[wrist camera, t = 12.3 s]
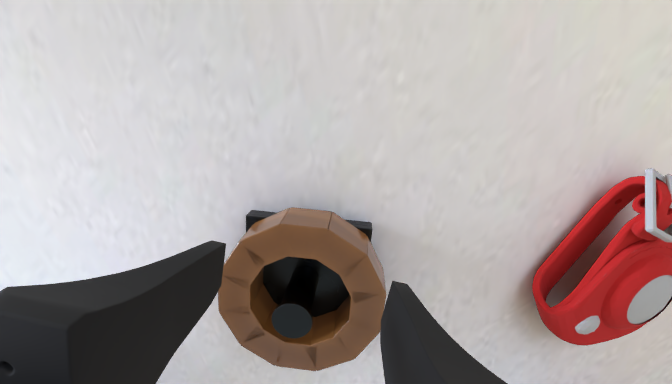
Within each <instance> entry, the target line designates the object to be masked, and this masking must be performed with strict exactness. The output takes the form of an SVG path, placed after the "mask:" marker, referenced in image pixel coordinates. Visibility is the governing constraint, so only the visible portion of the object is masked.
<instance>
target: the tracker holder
mask: <svg viewBox="0 0 672 384" xmlns="http://www.w3.org/2000/svg"><path fill="white" fill-rule="evenodd" d="M635 197H636V198H635ZM634 198H635V199H634ZM633 199H634V201H633V204H632V207H633V209H634V210H635V211H636V212H638V213H640V214H639V215H637V216H636V217H634V218H633V219H631V220H630V221H628V222H627V223H626V224H625V225H624V226H623V227H622V228H621V230H620V231H619V232H618V233H617V234H616V236H615V237H614V238H613V239H612V240H611V241H610V243H609V244H608V245H607V247H606V248H605V249H604V251H603V252H602V253H601V255H600V256H599V257H598V259H597V260H596V261H595V263H594V264H593V265H592V267H591V268H590V269H589V271H588V272H587V273H586V275H585V276H584V277H583V279H582V280H581V281H580V283H579V284H578V285H577V287H576V288H575V289H574V290H573V291H572V292H571V293H570V294H569V295H568V296H567V297H566V298H565V299H564V300H563V301H562V302H560V303H559V304H557V305H555V306H553V307H549V306H548V305H547V303H546V297H547V295H548V293H549V292H550V290H551V289H552V288H553V287H554V285H555V284H556V283H557V282H558V281H559V280H560V279H561V277H562V276H563V275H564V274H565V273H566V272H567V270H568V269H569V268H570V267H571V266H572V265H573V264H574V262H575V261H576V260H577V259H578V258H579V257H580V256H581V254H582V253H583V252H584V251H585V250H586V249H587V248H588V246H589V245H590V244H591V243H592V242H593V241H594V240H595V238H596V237H597V236H598V235H599V234H600V233H601V232H602V231H603V230H604V228H605V227H606V226H607V225H608V224H609V223H610V222H611V220H612V219H613V218H614V217H615V216H616V214H617V213H618V212H619V211H620V210H622V209H623V208H624V207H625V206H626V205H627V204H628V203H630V202H631V201H632V200H633ZM532 289H533V295H534V298H535V302H536V305H537V309H538V312H539V314H540V317H541V319H542V321H543V323H544V324H545V325H546V326H547V328H548V329H549V330H550V331H551V332H552V333H554V334H555V335H556V336H557V337H559V338H560V339H562V340H564V341H566V342H569V343H572V344H576V345H591V344H596V343H600V342H605V341H609V340H612V339H615V338H619V337H622V336H624V335H627V334H629V333H631V332H633V331H635V330H637V329H639V328H641V327H642V326H643V325H645V324H646V323H647V322H649V321H651V320H652V319H654V318H655V317H657V316H658V315H659V314H660V313H661V312H662V311H663V310H664V309H665V308H666V307H667V306H668V305H669V303H670V302H671V301H672V175H670V174H667V175H665V177H664V176H662V175H661V174H660V173H658V172H657V171H656V170H654V169H652V168H649V169H646V170H645V176H637V177H631V178H628V179H625V180H623V181H622V182H620V183H618V184H617V185H615V186H614V187H613V188H611V189H610V190H609V191H608V192H607V193H606V194H605V195H604V196H603V197H602V198H601V199H600V200H599V201H598V202H597V203H596V204H595V205H594V206H593V207H592V208H591V209H590V210H589V211H588V213H587V214H586V215H585V216H584V217H583V218H582V219H581V220H580V221H579V223H578V224H577V225H576V226H575V227H574V228H573V230H572V231H571V232H570V233H569V234H568V235H567V236H566V238H565V239H564V240H563V241H562V242H561V243H560V244H559V246H558V247H557V248H556V249H555V250H554V251H553V252H552V254H551V255H550V256H549V257H548V258H547V259H546V260H545V262H544V263H543V264H542V265H541V266H540V268H539V269H538V270H537V272H536V274H535V276H534V280H533V285H532Z"/></svg>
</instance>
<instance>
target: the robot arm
mask: <svg viewBox="0 0 672 384" xmlns="http://www.w3.org/2000/svg"><path fill="white" fill-rule="evenodd" d="M225 247H226V244H225V243H220V242H216V241H209V242H206V243H204V244H201V245H199V246H196V247H194V248H191V249H189V250H187V251H184V252H182V253H179V254H177V255H174V256H172V257H169V258H166V259H163V260H160V261H158V262H155V263H152V264H149V265H146V266H143V267H140V268H136V269H132V270H129V271H125V272H121V273H117V274H112V275H107V276H102V277H97V278H92V279H86V280H80V281H73V282H65V283H57V284H46V285H32V286H17V287H7V288H5V289H3V290H1V291H0V384H156V382H157V380H158V379H159V377H160V375H161V374H162V372H163V370H164V369H165V367H166V365H167V364H168V362H169V361H170V359H171V357H172V356H173V355H174V353H175V352H176V350H177V349H178V347H179V346H180V345H181V343H182V342H183V341H184V339H185V338H186V337H187V335H188V334H189V333H190V331H191V330H192V329H193V327H194V326H195V325H196V323H197V322H198V321H199V319H200V318H201V317H202V315H203V314H204V313H205V311H206V310H207V309H208V307H209V306H210V304H211V303H212V301H213V299H214V298H215V296H216V294H217V292H218V290H219V288H220V287H221V284H222V275H223V266H224V256H225ZM380 340H381V352H382V361H383V369H384V377H385V384H507V383H506V382H504V381H503V380H502V379H500V378H499V377H497V376H496V375H495V374H493V373H492V372H491V371H489V370H488V369H487V368H485V367H484V366H483V365H482V364H480V363H479V362H478V361H477V360H475V359H474V358H473V357H472V356H471V355H469V354H468V353H467V352H466V351H465V350H464V349H463V348H462V347H461V346H460V345H459V344H458V343H456V342H455V341H454V340H453V339H452V338H451V337H450V336H449V335H448V334H447V332H446V331H445V330H444V329H443V328H442V327H441V326H440V325H439V324H438V323H437V321H436V320H435V319H434V318H433V317H432V315H431V314H430V313H429V312H428V311H427V309H426V308H425V307H424V305H423V304H422V303H421V302H420V300H419V299H418V298H417V296H416V295H415V294H414V292H413V291H412V290H411V288H410V287H409V286H408V285H407V284H404V283H400V282H395V281H392V285H391V288H390V291H389V295H388V298H387V301H386V305H385V308H384V311H383V315H382V318H381V333H380Z"/></svg>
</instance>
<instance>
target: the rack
mask: <svg viewBox="0 0 672 384" xmlns="http://www.w3.org/2000/svg"><path fill="white" fill-rule="evenodd" d="M274 214H276V213H274V212H265V211H255V210H251V211H250V212H249V213H248V214H247V215H246V232H247V231H248V230H249V229H250V228H251V226H252V225H253V224H255V222H258V221H260V220H262V219H265V218H267V217H269V216H272V215H274ZM345 221H347V222H348V223H350V224H351V225H353V226H354V227H356V228H357V229H359V230H360V231H362V232H363V233H365V234H366V236H368V238H369V240H370V242H371V235H372V223H370V222H361V221H351V220H345ZM263 284H264V286H265V288H266V289H267V291H268V293H269V294H270V296H271V298H272V299H273V301H274V302H275V303H277V304H278V306H277V307H276V308H275V309H274V311H273V314H272V324H273V327H274V328H275V330H276V331H277V332H278V333H279V334H281V335H282V336H285V337H288V338H300V337H303V336H305V335H306V334H307V333H308V332H309V331H310V330H311V328H312V324H313V317H318V316H320V315H323V314H326V313H329V312H332V311H335V310H337V309H338V308H339V306H340V305H341V304H342V303H343V302H344V301H345V299H346V298H347V297H348V296H349V295H350V294H349V292H348V290H347V288H346V286H345V284H344V283H343V281H342V279H341V277H340V275H339V274H337V273H336V272H334V271H333V270H331V269H330V268H328V267H327V266H325V265H324V264H322V263H321V262H319V261H318V260H315V259H306V258H297V257H285V258H283V259H280V260H278V261H275V262H273V263H270V264H268V265H265V266H264V267H263Z"/></svg>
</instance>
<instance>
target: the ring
mask: <svg viewBox="0 0 672 384" xmlns="http://www.w3.org/2000/svg"><path fill="white" fill-rule="evenodd" d="M285 257H297V258H306V259H315V260H318V261H319V262H321V263H322V264H324V265H325V266H327V267H328V268H330V269H331V270H333V271H334V272H336V273H337V274H339V275H340V277H341V279H342V281H343V283H344V284H345V286H346V288H347V290H348V292H349V294H350V295H349V296H348V297H347V298H346V299H345V301H344V302H343V303H342V304H341V305H340V306H339V308H338V309H337V310H335V311H332V312H329V313H326V314H323V315H320V316H318V317H313V324H312V328H311V330H310V331H309V332H308V333H307V334H306V335H305V336H303V337H300V338H288V337H285V336H282V335H281V334H279V333H278V332H277V331H276V330H275V328H274V327H273V324H272V314H273V311H274V309H275V308H276V307H277V306H278V304H277V303H275V302H274V301H273V299H272V298H271V296H270V294H269V293H268V291H267V289H266V288H265V286H264V284H263V267H264V266H265V265H268V264H270V263H273V262H275V261H278V260H280V259H283V258H285ZM385 299H386V289H385V281H384V273H383V267H382V265H381V263H380V261H379V259H378V257H377V255H376V253H375V251H374V249H373V247H372V245H371V242H370V240H369V238H368V236H366V234H365V233H363V232H362V231H360V230H359V229H357V228H356V227H354V226H353V225H351V224H350V223H348V222H347V221H345V220H344V219H342V218H341V217H340V216H338V215H337V214H335V213H334V212H330V211H321V210H311V209H301V208H288V209H285V210H283V211H281V212H279V213H276V214H274V215H272V216H269V217H267V218H265V219H262V220H260V221H258V222H255V224H253V225H252V226H251V228H250V229H249V230H248V231H247V232H246V234H245V235H244V236H243V237H242V238H241V240H240V241H239V242H238V244H237V245H236V247H235V248H234V250H233V251H232V253H231V254H230V256H229V257H228V259H227V260H226V262H225V263H224V266H223V275H222V284H221V287H220V288H219V290H218V302H219V312H220V314H221V316H222V317H223V319H224V320H225V322H226V323H227V325H228V327H229V328H230V330H231V331H232V333H233V334H234V336H235V337H236V339H237V340H238V342H239V343H240V344H241V346H243V347H245V348H246V349H248V350H250V351H251V352H253V353H255V354H256V355H258V356H260V357H261V358H263V359H264V360H266V361H268V362H269V363H271V364H273V365H274V366H275V365H276V366H280V367H288V368H295V369H303V370H311V371H316V370H317V371H319V370H322V369H325V368H328V367H331V366H334V365H338V364H341V363H344V362H347V361H350V360H353V359H354V358H356V357H357V356H358V355H359V354H360V353H361V352H362V351H363V350H364V348H365V347H366V346H367V345H368V344H369V343H370V342H371V341H372V340H373V339H374V338H375V337H376V336H377V335H378V334H379V332H380V330H381V318H382V315H383V311H384V305H385Z"/></svg>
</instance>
